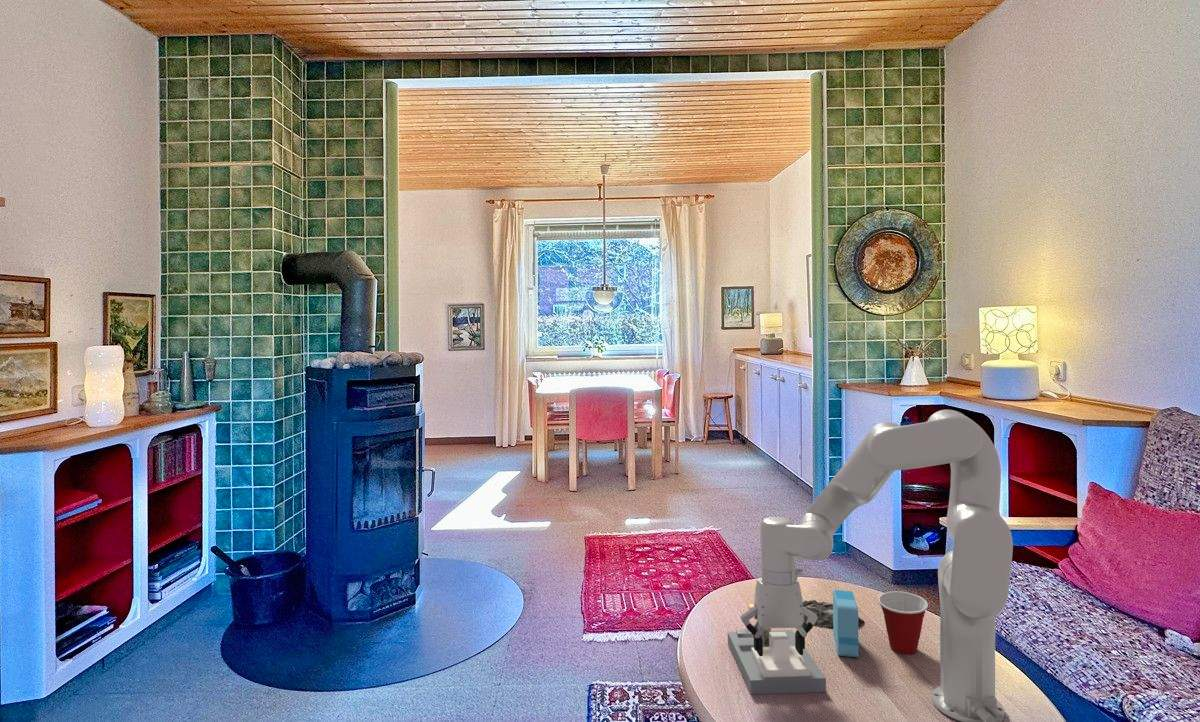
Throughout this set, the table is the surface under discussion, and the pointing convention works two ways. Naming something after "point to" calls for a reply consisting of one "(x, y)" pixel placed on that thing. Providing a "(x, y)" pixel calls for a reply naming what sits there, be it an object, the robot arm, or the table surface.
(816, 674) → the plate
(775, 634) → the lid
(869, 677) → the table surface
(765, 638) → the tan t-shaped piece
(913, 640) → the plastic cup
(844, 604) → the data package
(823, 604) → the geode
